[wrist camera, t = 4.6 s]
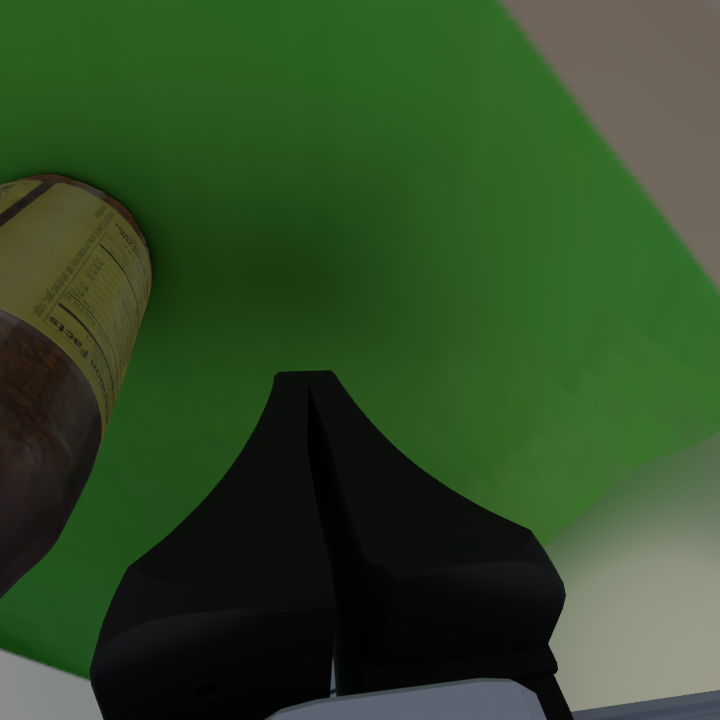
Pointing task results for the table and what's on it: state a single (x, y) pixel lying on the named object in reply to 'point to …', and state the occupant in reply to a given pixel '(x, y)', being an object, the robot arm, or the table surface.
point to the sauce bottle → (59, 350)
